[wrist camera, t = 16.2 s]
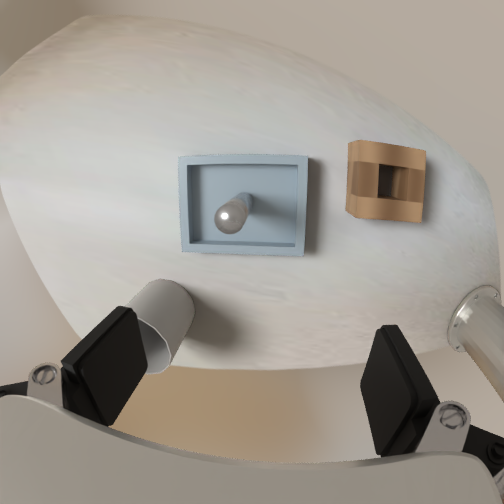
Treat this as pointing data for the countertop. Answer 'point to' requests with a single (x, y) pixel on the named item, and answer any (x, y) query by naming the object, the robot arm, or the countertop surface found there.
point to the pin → (234, 213)
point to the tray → (265, 203)
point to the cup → (162, 321)
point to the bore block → (403, 181)
